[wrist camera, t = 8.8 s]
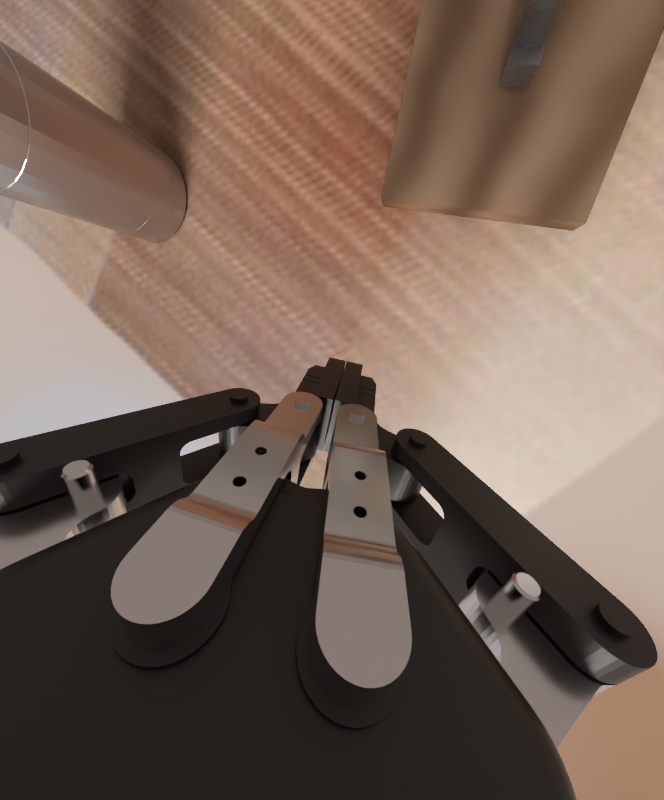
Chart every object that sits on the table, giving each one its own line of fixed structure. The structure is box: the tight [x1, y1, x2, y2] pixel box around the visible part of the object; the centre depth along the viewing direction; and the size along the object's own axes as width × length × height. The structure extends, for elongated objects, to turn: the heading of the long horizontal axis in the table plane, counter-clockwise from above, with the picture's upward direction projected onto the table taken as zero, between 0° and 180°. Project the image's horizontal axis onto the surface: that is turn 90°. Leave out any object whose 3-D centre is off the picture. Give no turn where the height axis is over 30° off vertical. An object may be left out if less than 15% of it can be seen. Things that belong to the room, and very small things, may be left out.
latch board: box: [381, 0, 664, 230], centre depth 20 cm, size 16×18×8 cm
